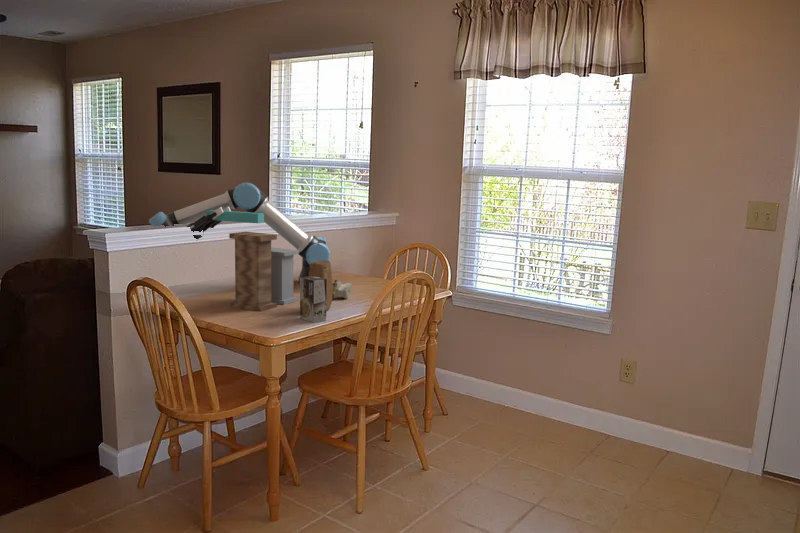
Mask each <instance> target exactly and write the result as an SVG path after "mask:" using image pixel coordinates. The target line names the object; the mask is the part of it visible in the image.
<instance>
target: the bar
mask: <svg viewBox="0 0 800 533" xmlns="http://www.w3.org/2000/svg"><path fill="white" fill-rule="evenodd" d="M214 211H215V210H206V215H210V214H211V213H213V212H214ZM223 212H224V213H223V214H221V215H220V216H218V217H217V218H216V219H214V220H218V221H222V222H235V223H246V224H247V223H248V224H264V223H265V222H264V213H252V212H246V211H234V210H231V211H223ZM212 220H213V219H212Z"/></svg>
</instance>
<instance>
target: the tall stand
mask: <svg viewBox="0 0 800 533" xmlns="http://www.w3.org/2000/svg"><path fill="white" fill-rule="evenodd" d="M228 235H229V236H228V239H231V240H232V239H233V240H234V272H235V273H234V275H235V276H234V279H235V280H234V282H235V283H234V284H235V286H234V287H235V288H234V289H235V290H234V291H235V294H234V295H235V297H234V298H235V300H234V301H232V302H230V303H229V307H233V308H239V309H245V310H251V311H256V312H264V311H267V310H270V309H271V310H272V309H273V308H274V309H275V308H277V306H278V304H277V303H272V302H271V248H272V241H274V240H275V241H276V240H277V239H278V237H277V236H278V233H277V234H274V233H265V232H264V233H263V232H253V231H240V232H233V233H232V232H231V233H229V234H228Z"/></svg>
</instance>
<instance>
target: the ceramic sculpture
mask: <svg viewBox="0 0 800 533" xmlns="http://www.w3.org/2000/svg"><path fill="white" fill-rule="evenodd" d="M332 283H333V288H332V300H336V299H338V298H344V299H345V300H346V299H348V298H349V296H350V294H351V291H352V282H347V283H344V284H343V283H342V282H341V281H339V280H337V279H334V281H333V282H332Z"/></svg>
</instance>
